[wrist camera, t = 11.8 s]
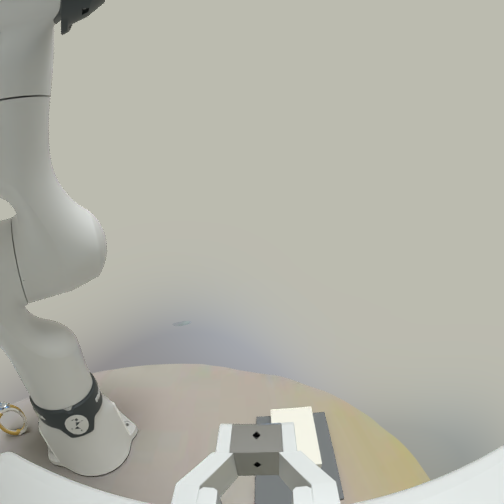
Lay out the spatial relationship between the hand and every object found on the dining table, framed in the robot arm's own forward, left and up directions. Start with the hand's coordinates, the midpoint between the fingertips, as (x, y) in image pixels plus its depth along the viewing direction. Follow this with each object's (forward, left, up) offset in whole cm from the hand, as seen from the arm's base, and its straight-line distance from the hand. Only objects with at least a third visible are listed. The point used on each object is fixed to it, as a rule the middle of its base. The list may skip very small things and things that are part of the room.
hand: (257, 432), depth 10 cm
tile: (-8, +14, -29) cm, 33 cm away
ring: (-43, -24, -30) cm, 58 cm away
